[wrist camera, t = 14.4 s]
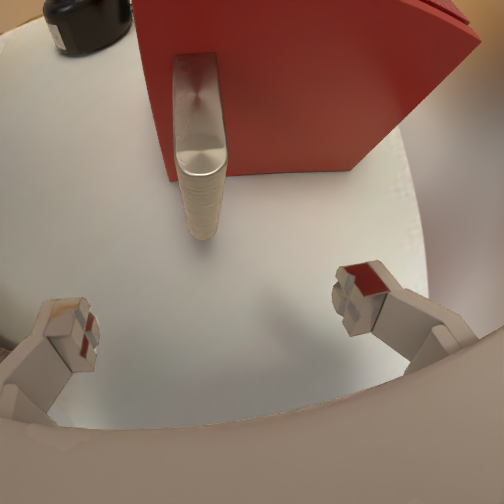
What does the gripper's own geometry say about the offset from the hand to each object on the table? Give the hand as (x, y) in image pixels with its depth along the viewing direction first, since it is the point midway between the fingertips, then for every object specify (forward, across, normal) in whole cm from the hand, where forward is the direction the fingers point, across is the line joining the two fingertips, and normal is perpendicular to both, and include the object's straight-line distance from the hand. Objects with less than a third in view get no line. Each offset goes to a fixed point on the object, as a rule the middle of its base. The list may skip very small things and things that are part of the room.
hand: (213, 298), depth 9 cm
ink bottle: (+28, +11, -13) cm, 33 cm away
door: (+12, -5, +3) cm, 13 cm away
